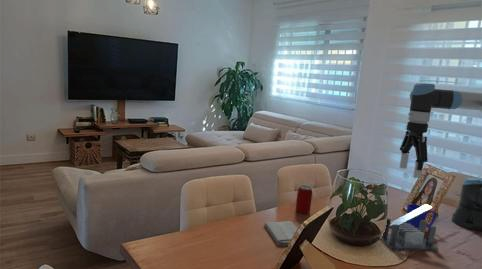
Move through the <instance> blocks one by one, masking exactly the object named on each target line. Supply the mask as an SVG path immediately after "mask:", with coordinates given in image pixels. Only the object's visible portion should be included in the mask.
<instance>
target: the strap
mask: <svg viewBox="0 0 482 269" xmlns="http://www.w3.org/2000/svg"><path fill="white" fill-rule="evenodd" d="M420 206H421V207H420V208H418V209H416V210H414V211H412V212H410V213H408V214H407V213H406V214H405V215H402V216H400V217H398V218H397V219H395V220H393V221H390V223H387V226H388V227H389V230H392V225H393V224H397V225H399V226H400V225H402V224H406V222H408V221H410V220H412V219H414V218H416V217H418V216H420V215H422V214H423V213H425V212H427V211H429V210H430V211H432V210H433V209H434V208H433V207H432V206H431V205H429V204H427V203H426V204H423V205H420Z"/></svg>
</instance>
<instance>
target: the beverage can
mask: <svg viewBox="0 0 482 269" xmlns="http://www.w3.org/2000/svg"><path fill="white" fill-rule="evenodd" d="M296 194H297V196H296V204H295V211H296V212H298V213H300V214H308V213H310V212H311V206H312V199H313V190H312V187H311V186H308V185H300V186H299V188H298V190H297V193H296Z"/></svg>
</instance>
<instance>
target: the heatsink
mask: <svg viewBox="0 0 482 269" xmlns="http://www.w3.org/2000/svg"><path fill="white" fill-rule="evenodd" d="M386 218H387V223H391V219H390V218H389V217H386ZM411 225H412V224H406V223H404V224H402V225H400V226H399V225H397V224H393V225H392V229H390V228H389V227H388V226H387V225H386V229H385V232H384V233H383V236H382V238H381V240H382V241H383V242H384V243H385V244H384V243H383V242H382V241H381V240H380V241H381V242H382V243H383V244H384V245H385V246H387V247H388V248H389V249H390V250H391V251H438V250H439V247H437V246H436V245H435V244H434V240H435V235H436V232H437V230H436V229H437V226H436V225H435V226H434V225H432V226H429V227H428V230H427V231H428V232H427V235H426V238H424V237H425V233H426V228H427V227H426V225H427V220H426V219H425V220H420V224H419V229H418V228H414V227H415V226H411ZM389 230H390V231H391V232H390V233H389Z"/></svg>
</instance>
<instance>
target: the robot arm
mask: <svg viewBox="0 0 482 269" xmlns="http://www.w3.org/2000/svg"><path fill="white" fill-rule="evenodd" d="M409 100H410V105H409V112H408V114H407V115H408V119H407V120H408V121H407V125H406V131H405V135H404V138H403V140H402V142H401V145H400V147H399V151H400V153H401V156H400V162H399V169H403V170H404V169H405V170H407V169H408V161H409V156H410V150H411V149H412V147H413V148H414V151H415V155H416V160H415V166H414V170H413V174H412V175H413V176H412V177H413V178H415V179H421V178H422V175H423V168H424V164H425V163H427V162H428V160H429V158H428V147H427V142H428V137H427V136H424V134H427V132H428V129H429V124H428V123H429V122H430V119H431V112H432V109H443V110H456V109H462V110H474V111H480V112H481V113H482V93H481V92H473V91H460V90H453V89H442V88H441V89H439V88H436V85H435V84H434V83H424V82H417V83H416V82H415V84H414V85H413V88H412V91H411V92H410V94H409ZM461 186H462V187H461V192H460V197H459V203H458V206H457V208H456V209H455V211H454V212H453V213H452V215H451V221H452V222H453V223H454V224H456V225H457V226H459V227H460V226H461V227H462V228H465V229H468V230H473V231H478V232H482V177H473V176H471V177H466V178H465V179H464V180H463V183H462V185H461Z"/></svg>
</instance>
